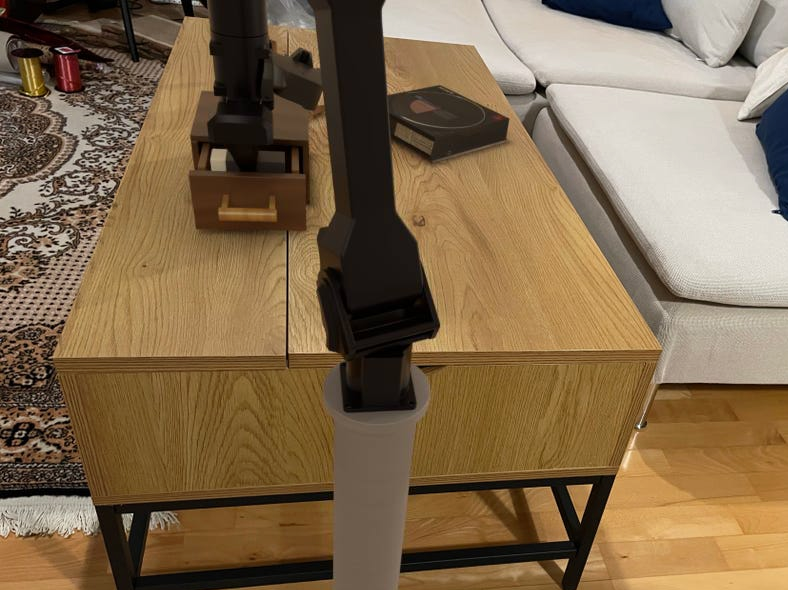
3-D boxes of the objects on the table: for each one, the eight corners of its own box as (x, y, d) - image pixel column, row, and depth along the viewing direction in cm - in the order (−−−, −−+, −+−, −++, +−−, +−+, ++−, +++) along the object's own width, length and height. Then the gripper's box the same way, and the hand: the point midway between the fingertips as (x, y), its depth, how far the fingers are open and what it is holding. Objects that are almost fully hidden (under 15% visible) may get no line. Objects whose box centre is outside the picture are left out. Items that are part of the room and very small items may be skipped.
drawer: (307, 252, 80) (306, 198, 76) (191, 251, 77) (183, 194, 73) (304, 180, 94) (303, 131, 90) (206, 177, 91) (199, 125, 87)
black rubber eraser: (285, 186, 82) (284, 162, 80) (212, 184, 80) (210, 159, 78) (285, 175, 84) (284, 151, 83) (215, 172, 82) (212, 148, 81)
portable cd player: (360, 124, 113) (361, 100, 111) (437, 107, 124) (440, 84, 121) (429, 163, 105) (432, 138, 103) (505, 142, 116) (509, 118, 113)
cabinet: (310, 204, 91) (309, 140, 86) (198, 201, 88) (189, 134, 82) (307, 156, 102) (306, 96, 96) (208, 152, 98) (201, 90, 93)
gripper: (323, 65, 67) (323, 212, 77) (317, 12, 81) (318, 142, 91) (198, 56, 64) (215, 209, 74) (214, 2, 78) (227, 138, 88)
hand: (250, 172), depth 82 cm, fingers closed on black rubber eraser, 3 cm apart
